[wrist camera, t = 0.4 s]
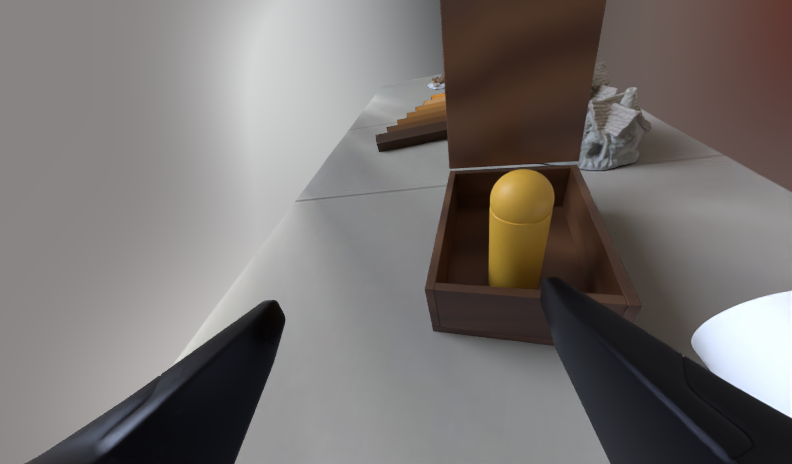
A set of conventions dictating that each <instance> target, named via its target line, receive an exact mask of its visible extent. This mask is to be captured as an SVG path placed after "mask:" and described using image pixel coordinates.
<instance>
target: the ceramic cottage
mask: <svg viewBox="0 0 792 464" xmlns="http://www.w3.org/2000/svg"><path fill="white" fill-rule="evenodd" d="M608 84H609V79H608V74H607V70H606V65H605V59H604V58H603V57H602V58H599V59H596V64H595V69H594V75H593V81H592V87H591V93H590V98H589V104H588V110H587V116H586V122H585V128H584V133H583V139H582V145H581V151H580V157H579V161H574V162H557V163H544V164H549V165H575V164H577V166H578V168H580V169H584V170H607V169H609V168H610V169H613V168H615V167H618V166H619V165H624V164H625V165H627V164H630V163H633V162H636V160H638V157H639V151H638V147H639V144H640V143H641V141H642V139H643V137H644V135H645V133H646V132H649V131H650V129H651V128H652V127H651V124H650V122H648V121H647V120H645V118H644V117H643V116H642V113H641V109H640V107H639V101H638V97H637V94H636V93H637V90H638V89H637V88H635V87H634V88H633V87H631V88H628V89H627V90H626V92H624V93H620V91H619V89H617V88H613V87H607V85H608Z"/></svg>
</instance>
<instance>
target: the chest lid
mask: <svg viewBox="0 0 792 464" xmlns="http://www.w3.org/2000/svg"><path fill="white" fill-rule="evenodd" d="M605 5H606V0H440V12H441V30H442V46H443V64H444V82H445V100H446V117H447V134H448V152H449V168H450V169H452V168H470V167H487V166H505V165H522V164H540V163H557V162H574V161H579V157H580V151H581V145H582V139H583V133H584V128H585V122H586V116H587V110H588V104H589V98H590V93H591V87H592V81H593V75H594V69H595V64H596V58H597V52H598V46H599V40H600V34H601V28H602V23H603V17H604V11H605Z"/></svg>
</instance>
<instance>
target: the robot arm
mask: <svg viewBox="0 0 792 464" xmlns="http://www.w3.org/2000/svg"><path fill="white" fill-rule="evenodd" d="M540 302H541V306H542V309H543V312H544V315H545V318H546V320H547V323H548V326H549V329H550V332H551V335H552V338H553V341H554V344H555V346H556V349H557V352H558V354H559V356H560V358H561V361H562V363H563V365H564V367H565V369H566V371H567V373H568V375H569V377H570V379H571V382H572V384H573V386H574V388H575V390H576V392H577V394H578V396H579V398H580V400H581V403H582V405H583V407H584V409H585V411H586V413H587V415H588V417H589V419H590V421H591V423H592V426H593V428H594V430H595V432H596V434H597V436H598V438H599V440H600V442H601V444H602V447H603V449H604V451H605V453H606V455H607V457H608V459H609V461H610V463H611V464H792V418H791V417H789V416H787V415H785V414H784V413H782V412H780V411H778V410H776V409H774V408H773V407H771V406H769V405H767V404H766V403H764V402H762V401H760V400H758V399H757V398H755V397H753V396H751V395H750V394H748V393H746V392H744V391H743V390H741V389H739V388H737V387H735V386H734V385H732V384H730V383H729V382H727V381H725V380H724V379H722V378H720V377H719V376H717V375H715V374H714V373H712V372H711V371H709V370H707V369H706V368H704V367H702V366H701V365H699V364H697V363H696V362H694V361H693V360H691V359H689V358H688V357H686V356H684V357H683V355H682V354H681V353H680V352H678V351H676V350H675V349H673V348H672V347H670V346H668V345H667V344H665V343H664V342H662V341H660V340H659V339H657V338H655V337H654V336H652V335H651V334H649V333H647V332H646V331H644V330H643V329H641V328H639V327H638V326H636V325H635V324H633V323H631V322H630V321H628V320H627V319H625V318H623V317H622V316H620V315H619V314H617V313H615V312H614V311H612V310H610V309H609V308H607V307H606V306H604V305H602V304H601V303H599V302H598V301H596V300H594V299H593V298H591V297H590V296H588V295H586V294H585V293H583V292H582V291H580V290H578V289H577V288H575V287H574V286H572V285H570V284H569V283H567V282H566V281H564V280H562V279H561V278H559V277H556V276H553V277H544V278H543V279H542V281H541V292H540ZM284 325H285V315H284V313H283V311H282V309H281V308H280V306H279V304H278V302H277V301H276V300H267V301H263V302H262V303H260V304H259V305H258V306H256V307H255V308H253V309H252V310H251V311H249V312H248V313H246V314H245V315H244V316H242V317H241V318H239V319H238V320H237V321H235V322H234V323H232V324H231V325H230V326H228V327H227V328H225V329H224V330H223V331H221V332H220V333H218V334H217V335H216V336H214V337H213V338H211V339H210V340H209V341H207V342H206V343H204V344H203V345H202V346H200V347H199V348H197V349H196V350H195V351H193V352H192V353H190V354H189V355H188V356H186V357H185V358H183V359H182V360H181V361H179V362H178V363H176V364H175V365H174V366H172V367H171V368H169V369H168V370H167V371H165V372H164V373H162V374H161V376H158V377H157V378H155V379H154V380H153V381H151V382H150V383H148V384H147V385H146V386H144V387H143V388H141V389H140V390H138V391H137V392H136V393H134V394H133V395H131V396H130V397H129V398H127V399H126V400H124V401H123V402H121V403H119V404H118V405H116V406H115V407H113V408H112V409H110V410H109V411H107V412H106V413H104V414H103V415H102V416H100V417H98V418H97V419H95V420H94V421H92V422H91V423H89V424H88V425H86V426H85V427H83V428H82V429H80V430H78V431H77V432H75V433H74V434H72V435H71V436H69V437H68V438H66V439H65V440H63V441H62V442H60V443H59V444H57V445H56V446H54V447H52V448H51V449H49V450H48V451H46V452H45V453H43V454H41V455H40V456H38V457H37V458H35V459H33V460H31V461H29V462H27V463H25V464H234V463H235V461H236V458H237V456H238V453H239V451H240V448H241V445H242V443H243V440H244V438H245V435H246V433H247V430H248V427H249V425H250V422H251V420H252V417H253V415H254V412H255V410H256V407H257V404H258V402H259V399H260V397H261V394H262V392H263V389H264V386H265V384H266V381H267V379H268V376H269V374H270V371H271V368H272V366H273V363H274V360H275V357H276V353H277V350H278V346H279V342H280V339H281V335H282V332H283V328H284Z"/></svg>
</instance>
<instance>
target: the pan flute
mask: <svg viewBox="0 0 792 464" xmlns="http://www.w3.org/2000/svg"><path fill="white" fill-rule="evenodd" d="M415 109H416V112H411V113H407V118H405V119H400V120H397V123H398V125H396V126H391V127H387V132H388V133H384V134H379V135H376V142H377V146H378V150H379V152H380V151H385V150H390V149H395V148H400V147H405V146H410V145H415V144H420V143H425V142H430V141H435V140H440V139H445V138H448V134H447V117H446V100H445V93H443V94H438V95H433V96H431V100H428V101H424V105H423V106H419V107H415Z"/></svg>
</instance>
